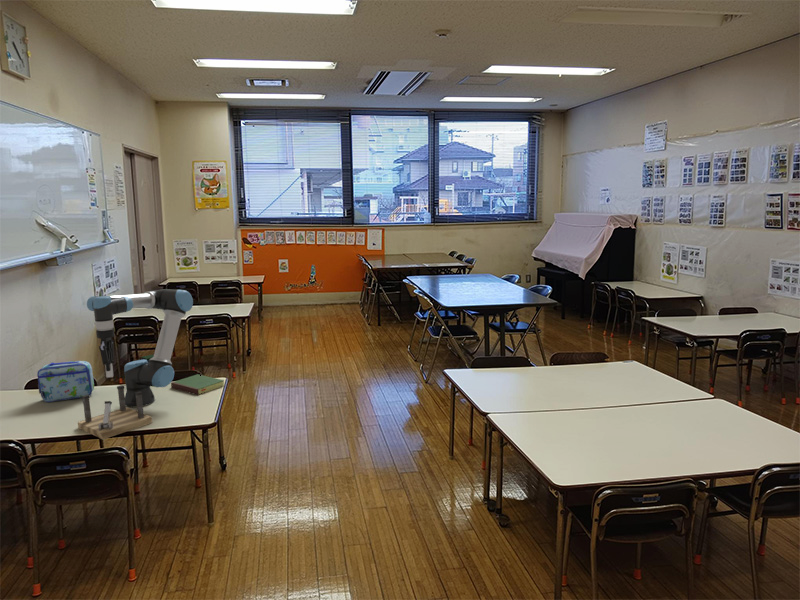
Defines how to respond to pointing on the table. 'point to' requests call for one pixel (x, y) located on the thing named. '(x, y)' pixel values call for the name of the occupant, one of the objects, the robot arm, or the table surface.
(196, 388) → the hardcover book
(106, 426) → the hinged leg
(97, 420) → the stool top
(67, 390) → the lunch box
